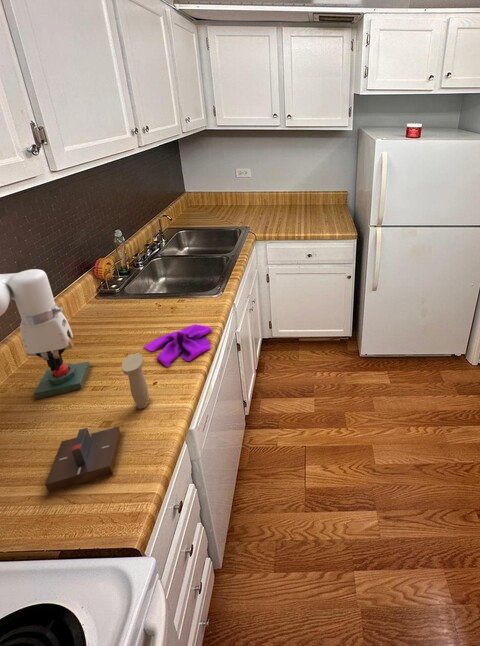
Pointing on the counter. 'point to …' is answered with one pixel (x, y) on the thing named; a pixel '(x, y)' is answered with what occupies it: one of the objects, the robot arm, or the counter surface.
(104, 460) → the panel
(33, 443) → the counter surface
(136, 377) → the handle
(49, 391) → the button box
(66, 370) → the button
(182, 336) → the cloth
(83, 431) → the knob
